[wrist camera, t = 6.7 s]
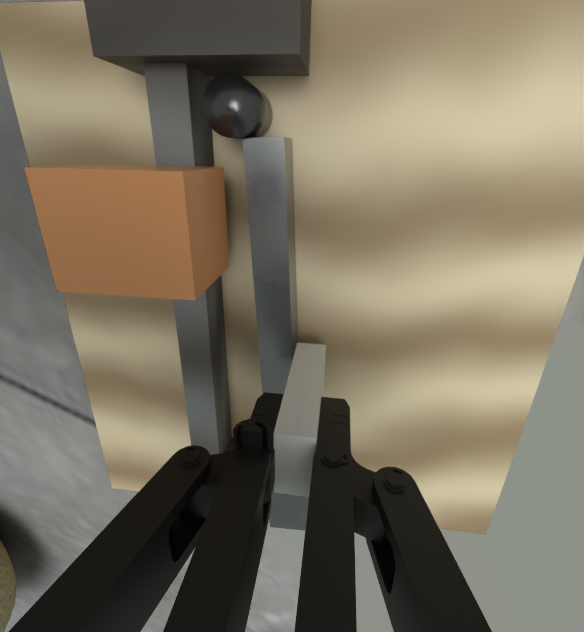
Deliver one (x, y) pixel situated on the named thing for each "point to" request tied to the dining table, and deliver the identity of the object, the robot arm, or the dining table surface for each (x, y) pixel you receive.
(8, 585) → the cantaloupe
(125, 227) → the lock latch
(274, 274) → the upper tong arm
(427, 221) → the tongs board
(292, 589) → the dining table surface
